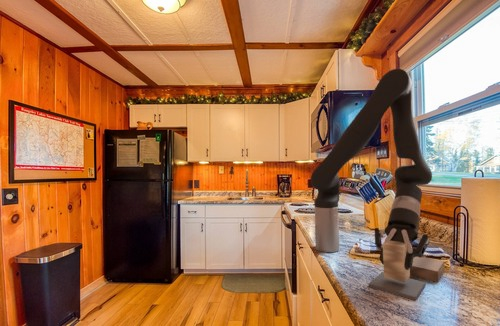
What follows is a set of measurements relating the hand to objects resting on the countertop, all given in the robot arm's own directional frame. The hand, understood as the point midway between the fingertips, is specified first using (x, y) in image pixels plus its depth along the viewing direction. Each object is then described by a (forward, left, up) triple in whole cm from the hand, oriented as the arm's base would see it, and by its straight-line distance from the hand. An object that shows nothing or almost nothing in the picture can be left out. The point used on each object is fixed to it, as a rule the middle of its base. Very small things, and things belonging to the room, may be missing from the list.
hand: (394, 265), depth 68 cm
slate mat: (+1, +2, -6) cm, 6 cm away
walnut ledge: (+11, +14, -6) cm, 19 cm away
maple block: (+1, +2, -4) cm, 4 cm away
